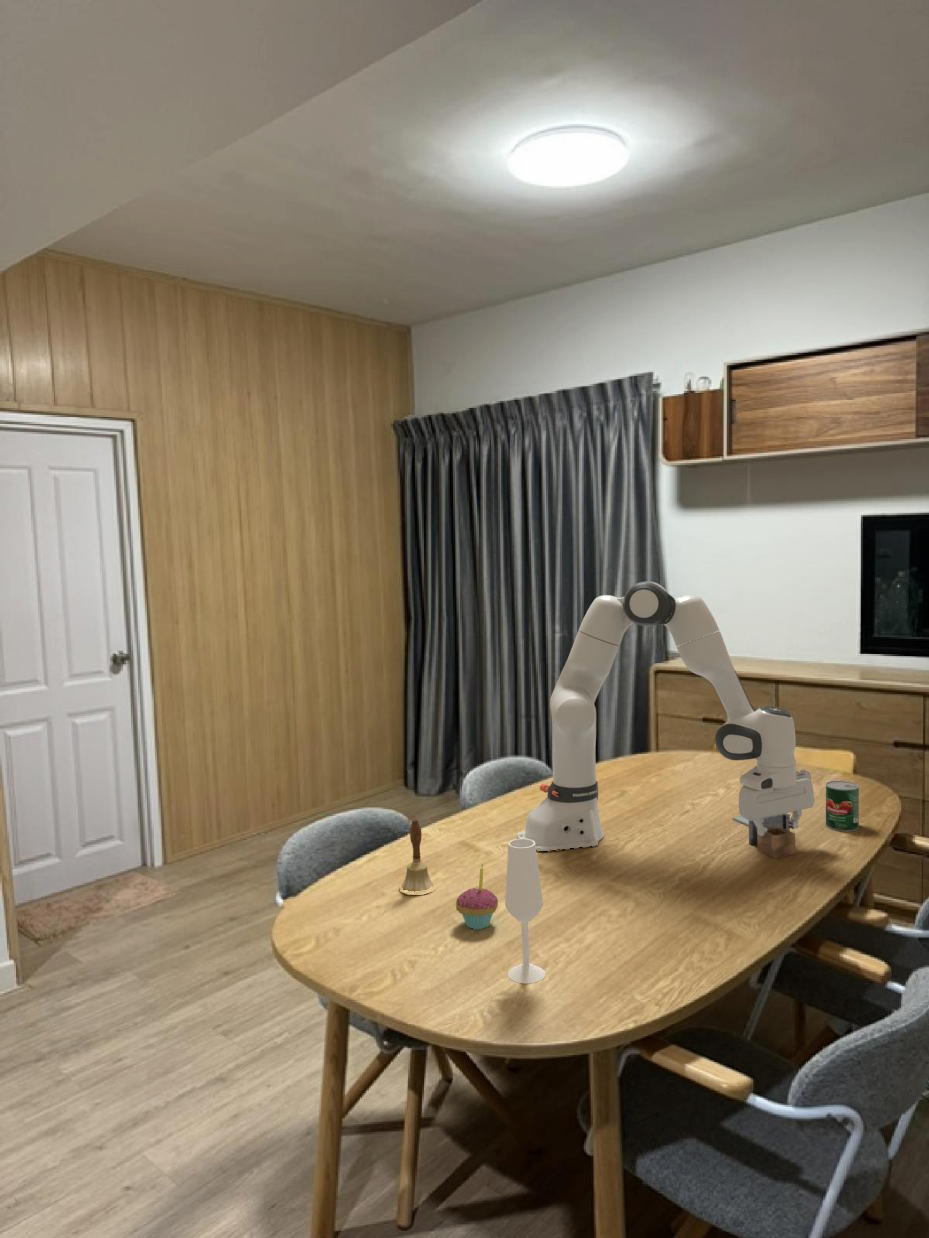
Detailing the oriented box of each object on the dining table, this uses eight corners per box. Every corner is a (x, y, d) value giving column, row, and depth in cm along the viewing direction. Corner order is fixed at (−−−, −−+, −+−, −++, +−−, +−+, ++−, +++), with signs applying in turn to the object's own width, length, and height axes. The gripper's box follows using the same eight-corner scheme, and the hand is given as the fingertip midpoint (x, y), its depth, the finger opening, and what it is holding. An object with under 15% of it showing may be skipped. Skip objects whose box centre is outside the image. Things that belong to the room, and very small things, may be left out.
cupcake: (475, 911, 179) (472, 856, 177) (507, 922, 173) (505, 864, 172) (448, 927, 172) (445, 869, 171) (481, 938, 167) (479, 878, 165)
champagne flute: (524, 987, 148) (519, 853, 145) (500, 972, 153) (495, 842, 151) (553, 974, 151) (548, 843, 149) (528, 960, 157) (524, 833, 155)
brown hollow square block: (775, 858, 201) (775, 837, 200) (757, 850, 206) (757, 830, 206) (795, 853, 203) (795, 833, 203) (777, 845, 209) (776, 826, 208)
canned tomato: (827, 830, 218) (827, 788, 217) (824, 820, 225) (823, 779, 224) (861, 832, 215) (861, 790, 214) (856, 822, 223) (856, 781, 222)
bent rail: (753, 845, 209) (752, 815, 209) (730, 835, 217) (730, 806, 216) (789, 837, 214) (789, 808, 213) (766, 828, 221) (766, 799, 220)
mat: (750, 827, 222) (750, 825, 222) (732, 819, 229) (732, 817, 229) (771, 823, 225) (771, 820, 225) (753, 815, 231) (753, 813, 231)
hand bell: (443, 884, 193) (440, 816, 192) (423, 898, 186) (419, 827, 185) (412, 878, 198) (409, 811, 196) (391, 892, 190) (388, 822, 189)
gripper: (800, 765, 210) (801, 820, 211) (733, 778, 202) (735, 835, 204) (820, 771, 204) (821, 827, 205) (752, 784, 196) (753, 843, 198)
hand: (778, 831), depth 204 cm, fingers open, 8 cm apart
